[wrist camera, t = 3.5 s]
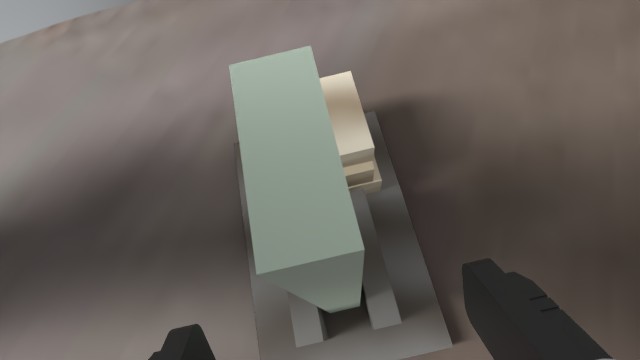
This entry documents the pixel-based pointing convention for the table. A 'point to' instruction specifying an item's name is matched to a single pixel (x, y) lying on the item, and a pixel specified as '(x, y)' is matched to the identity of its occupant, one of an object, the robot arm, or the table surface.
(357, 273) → the slat
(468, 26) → the table surface
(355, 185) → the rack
